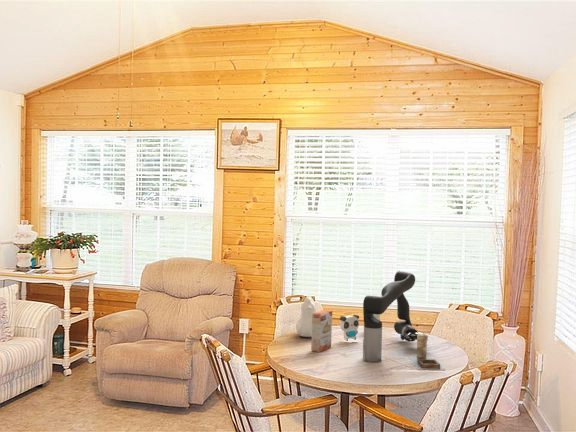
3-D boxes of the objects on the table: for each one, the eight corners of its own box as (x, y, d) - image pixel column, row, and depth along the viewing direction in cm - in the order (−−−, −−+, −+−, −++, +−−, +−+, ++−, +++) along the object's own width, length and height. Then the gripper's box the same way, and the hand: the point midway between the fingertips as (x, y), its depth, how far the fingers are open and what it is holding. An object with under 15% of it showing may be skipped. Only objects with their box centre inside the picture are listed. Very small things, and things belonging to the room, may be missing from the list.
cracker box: (320, 352, 291) (321, 314, 291) (310, 351, 294) (311, 313, 294) (332, 347, 303) (332, 310, 303) (322, 345, 306) (323, 309, 306)
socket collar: (421, 368, 263) (422, 364, 263) (417, 363, 272) (417, 359, 272) (440, 368, 263) (440, 364, 263) (434, 363, 272) (435, 359, 272)
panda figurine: (346, 344, 311) (347, 318, 311) (335, 339, 321) (336, 314, 321) (363, 341, 317) (363, 316, 317) (351, 337, 327) (352, 313, 327)
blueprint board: (417, 370, 262) (417, 368, 262) (406, 357, 284) (406, 356, 284) (445, 370, 263) (445, 368, 263) (432, 358, 285) (432, 356, 285)
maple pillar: (418, 359, 278) (418, 336, 278) (415, 356, 283) (416, 334, 283) (427, 359, 278) (428, 336, 278) (425, 356, 284) (425, 334, 283)
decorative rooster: (319, 340, 318) (320, 298, 318) (293, 339, 321) (294, 297, 321) (324, 331, 343) (324, 292, 343) (299, 329, 346) (300, 291, 345)
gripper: (397, 326, 307) (404, 332, 290) (422, 326, 307) (430, 333, 291) (397, 339, 307) (403, 346, 290) (422, 339, 307) (430, 347, 291)
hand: (417, 340), depth 290 cm, fingers open, 8 cm apart
